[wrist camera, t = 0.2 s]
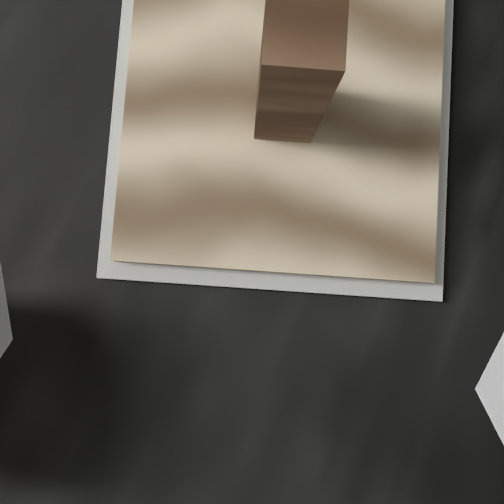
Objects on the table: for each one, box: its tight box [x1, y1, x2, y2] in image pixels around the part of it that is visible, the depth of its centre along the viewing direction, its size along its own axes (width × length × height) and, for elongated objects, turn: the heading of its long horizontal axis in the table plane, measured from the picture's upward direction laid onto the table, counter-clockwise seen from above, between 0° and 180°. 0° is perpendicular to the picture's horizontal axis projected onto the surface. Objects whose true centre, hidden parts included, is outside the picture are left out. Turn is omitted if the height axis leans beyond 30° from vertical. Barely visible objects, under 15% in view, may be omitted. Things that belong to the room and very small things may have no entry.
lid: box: [110, 0, 445, 283], centre depth 23 cm, size 18×18×10 cm
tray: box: [96, 0, 454, 302], centre depth 29 cm, size 20×20×1 cm
